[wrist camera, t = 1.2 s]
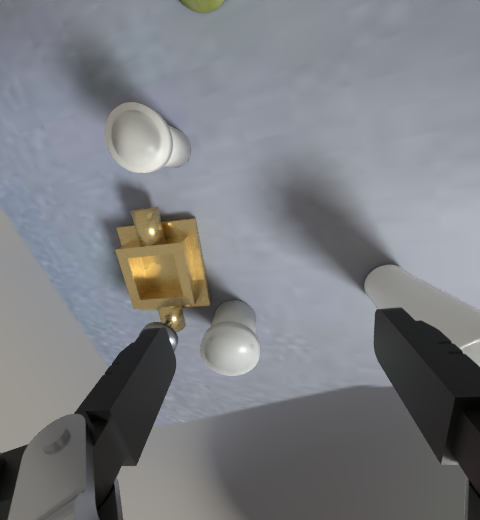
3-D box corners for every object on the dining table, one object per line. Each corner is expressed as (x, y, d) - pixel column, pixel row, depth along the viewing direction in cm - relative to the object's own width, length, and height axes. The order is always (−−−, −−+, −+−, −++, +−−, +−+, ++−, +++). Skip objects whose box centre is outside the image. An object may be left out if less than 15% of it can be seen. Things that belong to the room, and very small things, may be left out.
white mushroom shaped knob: (147, 127, 27) (96, 107, 18) (190, 120, 26) (158, 96, 18) (158, 174, 29) (115, 176, 20) (199, 168, 28) (173, 168, 20)
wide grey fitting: (207, 298, 34) (194, 329, 27) (256, 295, 33) (256, 325, 27) (215, 339, 36) (205, 376, 30) (261, 336, 36) (262, 374, 29)
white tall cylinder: (355, 307, 33) (428, 410, 19) (357, 260, 30) (441, 337, 16) (409, 302, 32) (528, 407, 18) (414, 254, 30) (555, 330, 16)
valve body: (115, 210, 30) (72, 222, 23) (192, 201, 29) (170, 211, 22) (149, 322, 36) (122, 359, 29) (214, 318, 35) (202, 355, 28)
